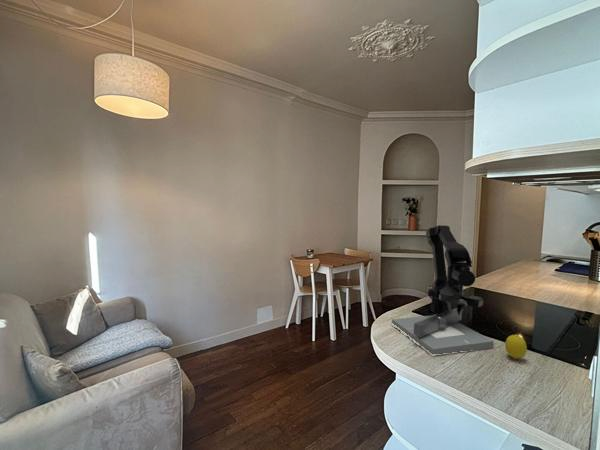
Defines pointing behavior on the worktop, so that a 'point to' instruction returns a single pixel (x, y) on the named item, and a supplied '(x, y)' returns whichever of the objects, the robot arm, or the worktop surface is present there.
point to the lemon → (516, 346)
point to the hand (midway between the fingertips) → (453, 318)
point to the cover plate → (445, 337)
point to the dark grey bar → (436, 322)
